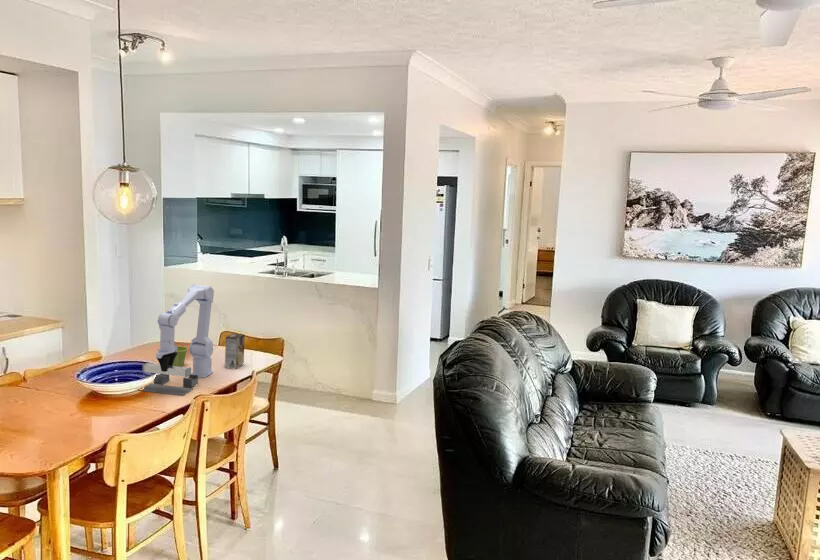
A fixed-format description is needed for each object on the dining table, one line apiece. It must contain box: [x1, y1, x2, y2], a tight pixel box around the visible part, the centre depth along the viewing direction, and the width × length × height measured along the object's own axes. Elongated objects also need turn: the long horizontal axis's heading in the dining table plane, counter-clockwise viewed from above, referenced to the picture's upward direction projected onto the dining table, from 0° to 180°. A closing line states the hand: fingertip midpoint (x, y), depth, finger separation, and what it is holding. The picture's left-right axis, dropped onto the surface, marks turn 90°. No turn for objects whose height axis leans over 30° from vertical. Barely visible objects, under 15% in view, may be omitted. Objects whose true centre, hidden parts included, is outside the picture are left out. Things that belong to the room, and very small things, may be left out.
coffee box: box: [224, 333, 246, 369], centre depth 308 cm, size 9×6×16 cm
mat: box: [142, 383, 194, 396], centre depth 267 cm, size 9×21×1 cm, turn 83°
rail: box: [141, 361, 192, 378], centre depth 266 cm, size 4×21×3 cm, turn 83°
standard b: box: [153, 374, 170, 385], centre depth 276 cm, size 6×4×4 cm, turn 173°
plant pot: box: [173, 345, 189, 367], centre depth 302 cm, size 9×9×9 cm
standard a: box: [182, 374, 199, 389], centre depth 275 cm, size 6×4×4 cm, turn 173°
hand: (166, 370), depth 266 cm, fingers closed on rail, 4 cm apart
